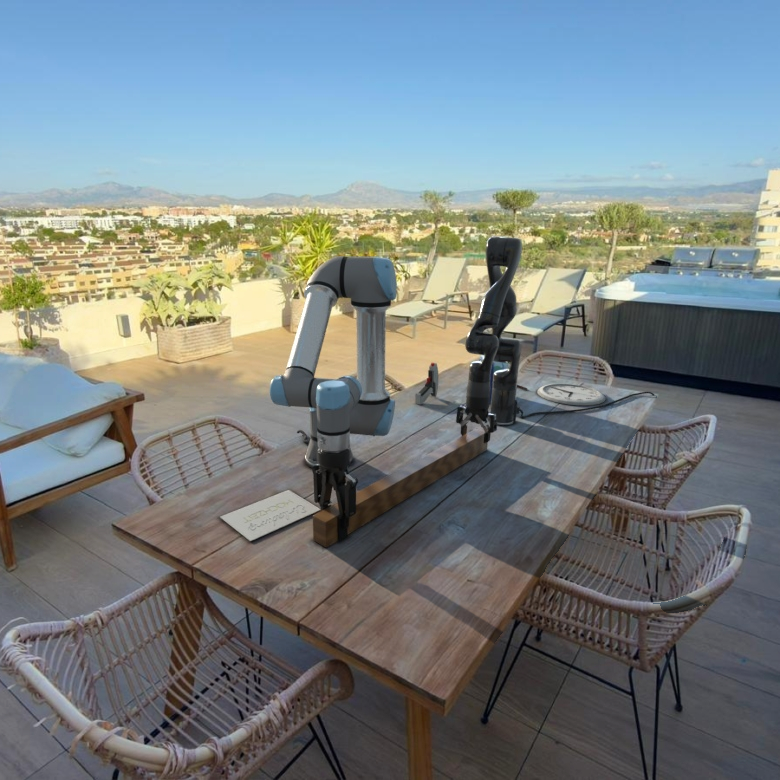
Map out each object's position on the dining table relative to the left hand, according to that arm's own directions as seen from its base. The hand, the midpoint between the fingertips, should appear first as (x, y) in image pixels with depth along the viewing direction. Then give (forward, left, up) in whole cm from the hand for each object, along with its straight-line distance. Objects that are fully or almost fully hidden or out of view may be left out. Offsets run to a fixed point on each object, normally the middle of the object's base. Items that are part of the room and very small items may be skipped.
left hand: (335, 534), depth 129 cm
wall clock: (-102, +113, 0) cm, 152 cm away
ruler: (-118, +92, 0) cm, 150 cm away
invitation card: (-12, -16, 0) cm, 20 cm away
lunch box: (-99, +74, 0) cm, 124 cm away
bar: (-22, +25, 0) cm, 33 cm away
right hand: (-44, +49, +5) cm, 66 cm away
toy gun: (-101, +45, 0) cm, 110 cm away
